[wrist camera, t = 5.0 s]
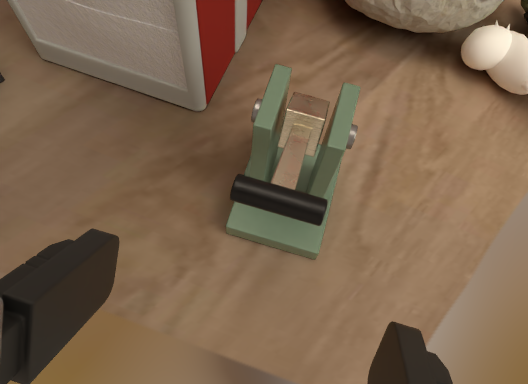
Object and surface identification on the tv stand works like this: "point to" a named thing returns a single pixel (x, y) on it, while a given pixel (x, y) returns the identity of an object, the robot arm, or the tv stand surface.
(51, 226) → the tv stand surface
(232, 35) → the red striped gift box
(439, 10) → the decorative shell
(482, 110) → the tv stand surface
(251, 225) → the switch bracket
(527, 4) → the rocket launcher
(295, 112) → the lever
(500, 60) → the toy creature
